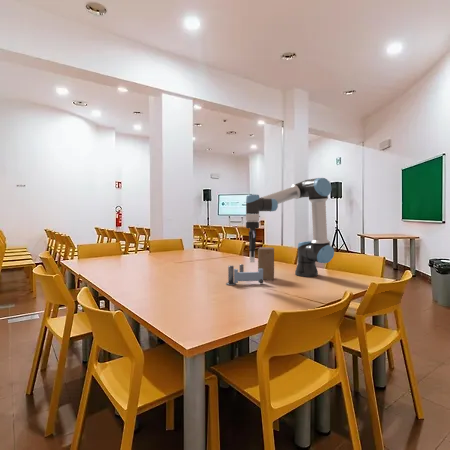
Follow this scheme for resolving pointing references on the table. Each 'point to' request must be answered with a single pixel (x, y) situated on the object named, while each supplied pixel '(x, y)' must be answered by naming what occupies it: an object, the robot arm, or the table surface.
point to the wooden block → (266, 262)
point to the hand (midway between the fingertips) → (252, 262)
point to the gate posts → (231, 274)
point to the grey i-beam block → (248, 276)
